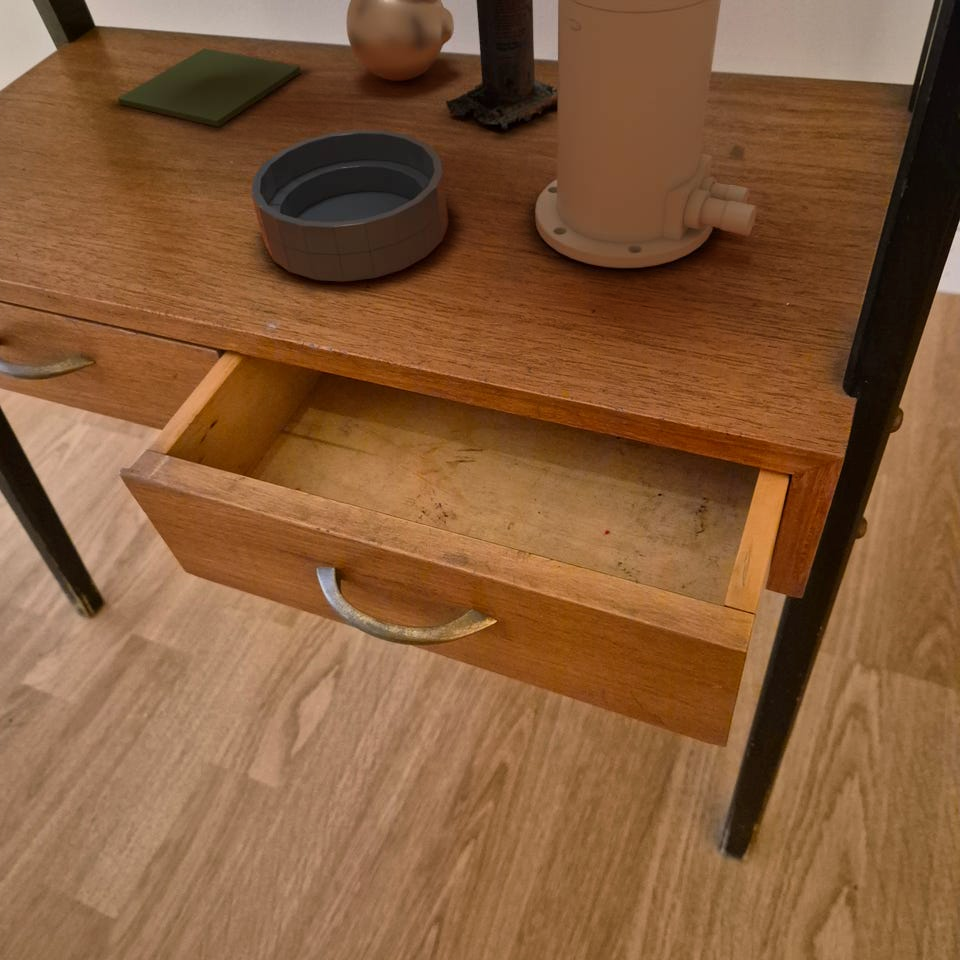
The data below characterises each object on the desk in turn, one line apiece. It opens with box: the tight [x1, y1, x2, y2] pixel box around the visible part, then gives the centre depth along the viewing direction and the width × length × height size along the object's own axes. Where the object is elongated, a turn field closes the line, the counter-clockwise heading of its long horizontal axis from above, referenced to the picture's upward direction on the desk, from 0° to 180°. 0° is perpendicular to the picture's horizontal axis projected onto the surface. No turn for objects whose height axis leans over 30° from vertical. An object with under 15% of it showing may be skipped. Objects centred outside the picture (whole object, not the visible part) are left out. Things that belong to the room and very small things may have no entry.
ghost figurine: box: [345, 0, 455, 82], centre depth 78 cm, size 9×10×10 cm
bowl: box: [250, 129, 449, 283], centre depth 62 cm, size 13×13×4 cm
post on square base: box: [445, 0, 558, 132], centre depth 71 cm, size 9×8×12 cm
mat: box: [117, 48, 301, 128], centre depth 82 cm, size 12×12×1 cm
